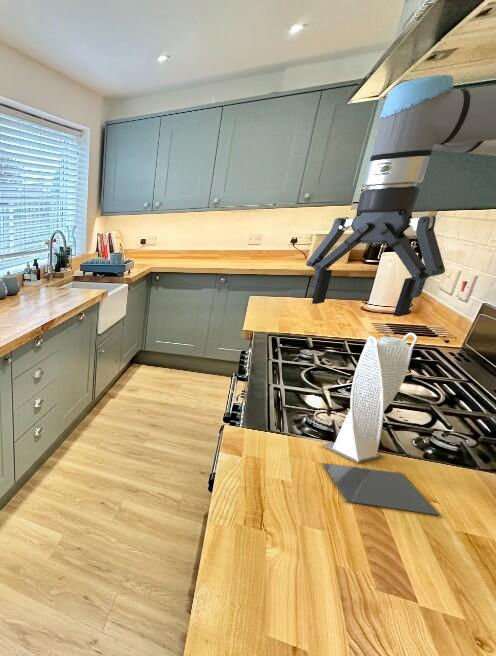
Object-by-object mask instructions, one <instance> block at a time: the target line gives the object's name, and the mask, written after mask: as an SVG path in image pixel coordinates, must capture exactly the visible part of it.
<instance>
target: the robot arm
mask: <svg viewBox="0 0 496 656" xmlns="http://www.w3.org/2000/svg"><path fill="white" fill-rule="evenodd" d="M454 81H455V78H454V76H453V75H451V74H441V75H440V74H436V75H428V76H422V77H418V78H414V79H413V78H412V79H410V80H407V81H406V80H405V81H403V82H401V83H398V84H396V85H395V86H393V87H392V88H391V89H390V91H388V94H387V96H386V99H385V102H384V105H383V108H382V111H381V114H380V116H379V119H378V126H377V129H376V134H375V138H374V142H373V147H372V150H371V155H370V158H369V162H368V165H367V169H366V173H365V177H364V181H363V186H364V187H366V189H363V190H362V191H361V192H360V195H359V199H358V203H357V207H356V214H355V217H354V218H349V217H348V216H344V217H337V218H335V219H334V221H333V224H332V227H331V229H330V231H329V232H328V234H326V236H325V237H324V239H323V240H322V241H321V242H320V244H319V245H318V246H317V247H316V249H315V250H314V251H313V253H312V254H311V255H310V257H309V258H308V260H306V262H305V265H306V267H311V268H313V269H314V275H313V279H312V286H313V287H315V288H314V293H313V297H312V301H311V304H312V305H313V304H314V305H319V304H323V303H325V301H326V297H327V294H328V289H329V285H330V283H331V282H330V281H331V277H332V274H333V270H332V269H330V268H331V266H333V264H335V263H336V262H338V261H339V260H341V259H342V257H344V256H345V255H346V254H348V252H350V251H351V250H353V249H354V248H355V247H356V246H357V245H360V244H364V245H365V244H366V245H367V244H375V245H388V246H389V247H391V248H392V250H393V251H394V253H396V255H397V257H398V258H399V259H400V261H401V262H402V264H403V266H404V267H405V269H406V270H407V271H408V273H409V274H410V276H411V277H407V278H404V281H403V284H402V287H401V290H400V293H399V296H398V299H397V302H396V306H395V309H394V312H393V314H392V315H393V317H397V318H399V317H404V316H408V314H409V311H410V307H411V305H412V301H413V299H415V298H419V297H420V296H421V295H422V294H423V290H424V287H425V284H426V281H427V279H428V278H430V277H434V276H439V275H440V276H441V275H443V274H444V273H445V272H446V268H445V264H444V260H443V257H442V254H441V250H440V247H439V244H438V243H439V242H438V240H437V237H436V233H435V226H436V220H437V218H436V216H434V215H425V216H421V217H416V218H415V217H414V218H413V211H414V209H415V207H416V204H417V200H418V197H419V194H420V191H421V189H420V186H417V185H418V184H420V183H422V182H423V181H424V179H425V175H426V171H427V168H428V164H429V161H430V157H431V156H432V154H433V153H432V152H437V151H440V152H449V153H462V154H463V153H464V154H474V155H483V156H494V157H496V84H493V85H492V84H491V85H485V86H478V87H471V88H470V87H469V88H461V89H460V88H454ZM350 227H351V229H352V231H353V232H352V233H351V234H350V235H349V236H348V237H346V238H345V239H344V241H343V242H342V243H340V245H338V246H337V247H336V248H334V249H333V247H334V246H335V245H336V244H337V243H338V241H339V240H340V239H341V237H343V235H344V234H345V232H346V231H347V230H349V228H350ZM411 227H412V230H413V231H415V233H416V234H415V235H416V239H417V243H418V246H419V250H420V253H421V257H422V259H421V257H420V256H419V255H418V253H417V252H416V251H415V249H414V248H413V246H412V244H411V243H410V239H409V238H408V236H407V235H406V233H405V232H406V231H407V230H408V229H409V228H411ZM332 249H333V250H332ZM331 250H332V251H331ZM330 251H331V252H330ZM329 252H330V253H329ZM328 253H329V254H328ZM422 260H423V261H422Z"/></svg>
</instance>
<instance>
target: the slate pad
mask: <svg viewBox="0 0 496 656" xmlns="http://www.w3.org/2000/svg"><path fill="white" fill-rule="evenodd" d="M323 467H324V468H325V470H326V471H327V473H328V474H329V476H330V477H331V479H332V480H333V482H334V484H335V485H336V486H337V488H338V490H339V492H340V493H341V494H342V496H343V498H344V499H345V501H346V502H347V503H351V504H359V505H365V506H372V507H378V508H385V509H391V510H399V511H404V512H405V511H406V512H412V513H417V514H424V515H431V516H432V515H433V516H438V517H439V516H440V514H439V512H437V510H436V509H435V508H434V507H433V506H432V505H431V504H430V503H429V502H428V501H427V500H426V498H424V496H423V495H422V494H421V493H420V492H419V491H418V490H417V488H416V487H414V486H413V485H412V483H411V482H410V481H409V480H408V479H407V478H406V476H405V475H404V474H403V473H400V472H395V471H394V472H393V471H385V470H377V469H368V468H361V467H354V466H345V465H337V464H331V463H330V464H329V463H323Z"/></svg>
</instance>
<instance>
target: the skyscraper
mask: <svg viewBox="0 0 496 656" xmlns="http://www.w3.org/2000/svg"><path fill="white" fill-rule="evenodd" d="M409 336H412V337H413V340H412V342H411V344H408V343H407V342H406V339H407V338H408V337H409ZM418 339H419V338H418V335H416V333H413V332H408V333H407V334H405V335H404V336H403V337H402V339H401V338H399V337H395V336H382V337H381V338H375V337H374V336H372V335H370V336H369V337H367V340H366V342H365V344H364V346H363V349H362V352H361V354H360V356H359V358H358V359H359V360H358V362H357V364H356V368H355V371H354V375H353V379H352V384H351V389H350V401H349V404H350V405H349V407H350V408H349V410H348V412H347V415H346V416H345V418H344V421H343V423H342V425H341V428H340V430H339V432H338V434H337V436H336V439H335V442H332V443H329V444H325V445H324V448H326V449H327V450H330V451H332V452H334V453H335V454H338V455H340V456H342V457H345V458H347V459H349V460H351V461H353V462H354V463H358V464H360V463H363V462H367V461H371V460H374V459H377V458H381V457H383V454H382V453H380V452H378V450H379V446H380V442H381V437H382V431H383V424H384V415H385V411H386V410H387V408H388V407H389V406H390V404H391V403H392V402H393V400H394V398H395V397H396V395H397V394H398V392H399V391H400V390H401V389H400V388H401V387H402V385H403V382H404V381H405V378H406V375H407V372H408V369H409V366H410V362H411V358H412V354H413V350H414V348H415V345H416V343H417V341H418Z"/></svg>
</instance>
